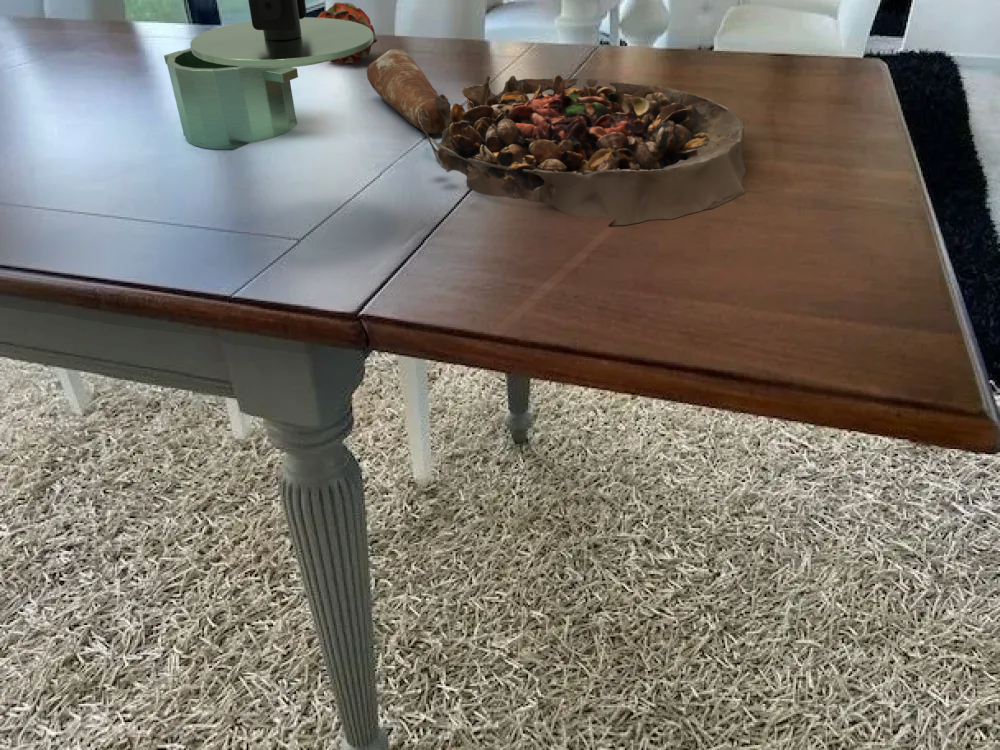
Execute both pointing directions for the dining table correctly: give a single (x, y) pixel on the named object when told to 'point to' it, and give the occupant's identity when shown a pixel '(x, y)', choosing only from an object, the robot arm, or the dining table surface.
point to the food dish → (594, 148)
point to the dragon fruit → (355, 15)
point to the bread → (405, 88)
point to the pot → (230, 101)
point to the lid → (282, 43)
